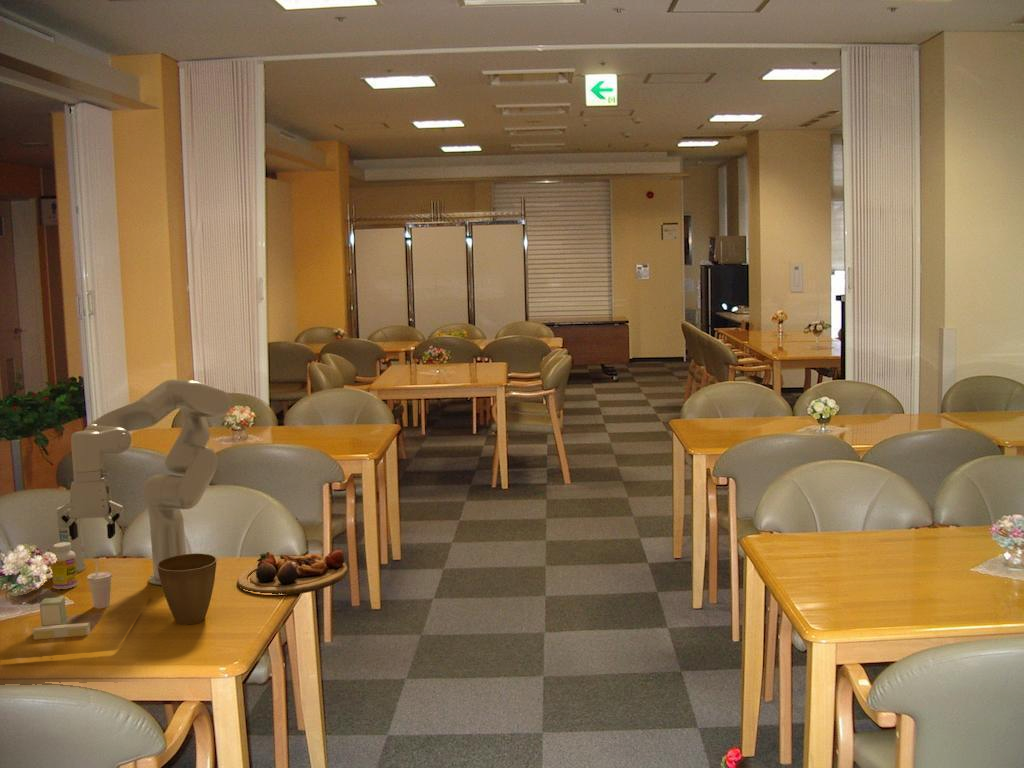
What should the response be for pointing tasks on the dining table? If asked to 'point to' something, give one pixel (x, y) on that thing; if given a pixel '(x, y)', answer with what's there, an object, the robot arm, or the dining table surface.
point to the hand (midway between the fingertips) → (92, 538)
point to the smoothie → (100, 587)
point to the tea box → (53, 611)
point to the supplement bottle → (64, 567)
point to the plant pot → (188, 585)
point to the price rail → (61, 631)
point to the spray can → (76, 543)
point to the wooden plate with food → (294, 573)
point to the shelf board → (84, 619)
